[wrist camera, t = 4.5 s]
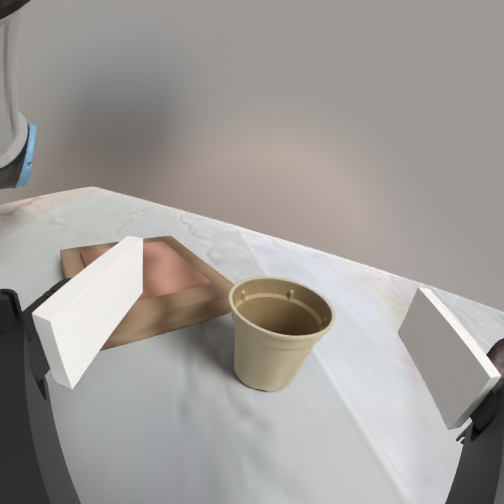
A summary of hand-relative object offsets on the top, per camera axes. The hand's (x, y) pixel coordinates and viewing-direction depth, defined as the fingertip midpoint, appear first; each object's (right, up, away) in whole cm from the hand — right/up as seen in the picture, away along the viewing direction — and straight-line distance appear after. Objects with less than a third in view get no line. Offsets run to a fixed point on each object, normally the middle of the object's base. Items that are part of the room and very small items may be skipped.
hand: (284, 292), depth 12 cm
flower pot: (0, -11, +15) cm, 18 cm away
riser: (-17, -3, +25) cm, 30 cm away
